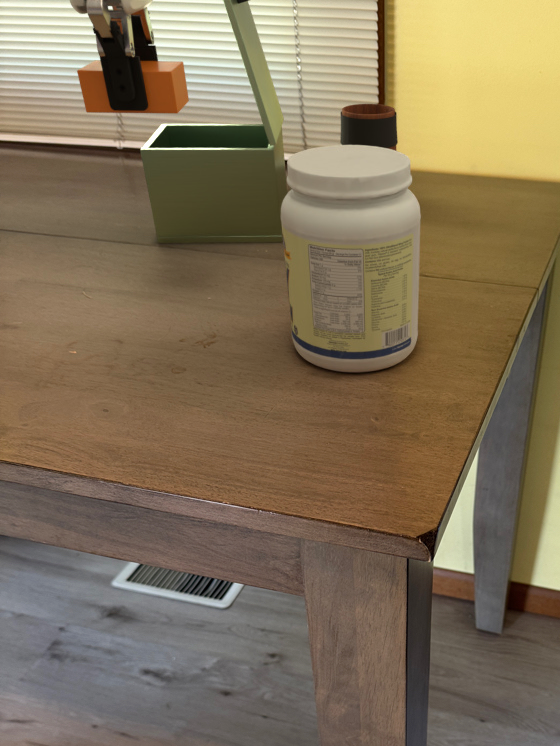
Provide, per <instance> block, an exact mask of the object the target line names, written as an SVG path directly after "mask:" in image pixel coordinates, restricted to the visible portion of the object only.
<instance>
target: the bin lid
mask: <svg viewBox="0 0 560 746" xmlns="http://www.w3.org/2000/svg"><path fill="white" fill-rule="evenodd" d="M222 1H223V5H224V8H225V11H226V14H227V18H228V21H229V23H230V26H231V30H232V33H233V36H234V39H235V42H236V46H237V48H238V51H239V55H240V57H241V60H242V64H243V67H244V71H245V73H246V76H247V79H248V82H249V85H250V89H251V91H252V94H253V99H254V101H255V104H256V107H257V110H258V114H259V116H260V119H261V124H263V126H264V129H265V132H266V135H267V138H268V141H269V144H270V146H272V145H275V144H276V143H277V140H278V136H279V133H280V130H281V127H282V128H283V123H284V121H285V119H284V118H285V117H284V115H283V111H282V107H281V106H280V102H279V98H278V95H277V92H276V88H275V86H274V81H273V79H272V75H271V72H270V69H269V65H268V62H267V59H266V55H265V51H264V49H263V46H262V43H261V39H260V36H259V33H258V29H257V25H256V23H255V20H254V16H253V13H252V10H251V6H250V4H249V3H250V0H222Z"/></svg>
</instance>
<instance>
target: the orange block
mask: <svg viewBox="0 0 560 746" xmlns="http://www.w3.org/2000/svg"><path fill="white" fill-rule="evenodd" d="M140 62H141V67H142V73H143V78H144V84H145V90H146V95H147V101H148V108H147V109H146V110H145V111H119V110H113V109H111V107H110V104H109V99H108V95H107V90H106V85H105V80H104V76H103V71H102V66H101V61H100V59H95V60H93V61H91V62H89V63H88V64H86V65H84V66H82V67H80V68H79V69H77V70H76V73H77V77H78V81H79V87H80V90H81V94H82V100H83V103H84V104H83V105H84V108H85V112H86V113H87V114H88V113H93V114H94V113H95V114H96V113H99V114H100V113H102V114H179V113H180V111H182V110H183V108H184V107H186V105H187V104H188V103H189V101H190V100H189V99H190V98H189V91H188V85H187V79H186V72H185V65H184V61H181V60H179V61H176V60H175V61H173V60H158V61H140Z"/></svg>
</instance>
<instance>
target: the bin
mask: <svg viewBox="0 0 560 746" xmlns="http://www.w3.org/2000/svg"><path fill="white" fill-rule="evenodd" d="M139 151H140V157H141V162H142V167H143V173H144V177H145V182H146V188H147V193H148V199H149V202H150V208H151V213H152V218H153V224H154V228H155V229H154V230H155V233H156V239H157V243H158V244H219V243H220V244H222V243H223V244H228V243H229V244H234V243H236V244H238V243H242V244H243V243H248V244H249V243H250V244H251V243H283V233H282V222H281V206H282V203H283V200H284V198H285V196H286V195H287V194H288V184H287V172H286V162H285V150H284V138H283V126H282V127H281V130H280V133H279V136H278V140H277V143H276V144H275V145H272V146H270V144H269V141H268V138H267V135H266V132H265V129H264V126H263V123H161V124H160V125H159V127H158V128H157V129H156V130H155V132H154V133H153V134H152V135H151V136H150V137H149V139H148V140H146V142H145V143H144V144H143V145H142V147H141V148H140V149H139Z"/></svg>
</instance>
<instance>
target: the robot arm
mask: <svg viewBox="0 0 560 746" xmlns="http://www.w3.org/2000/svg"><path fill="white" fill-rule="evenodd" d="M153 1H154V0H69V3H70V5H71V7H72V8H73V9H74V11H75V12H77V13H78V14H80V15H85V14H87V16H88V19H89V20H90V22H91V24H92V32H93V34H95V41H96V42H95V43H96V49H97V53H98V56H99V60H100V61H101V66H102V71H103V76H104V80H105V85H106V90H107V95H108V99H109V104H110V107H111V109H113V110H119V111H145V110H146V109H147V108H148V101H147V95H146V90H145V84H144V78H143V73H142V67H141V62H140V61H159V57H158V51H157V46H156V45H155V35H154V31H153V26H152V22H151V16H150V11H149V9H148V7H149V6H150V5H152V3H153ZM109 7H112V9H109Z"/></svg>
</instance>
